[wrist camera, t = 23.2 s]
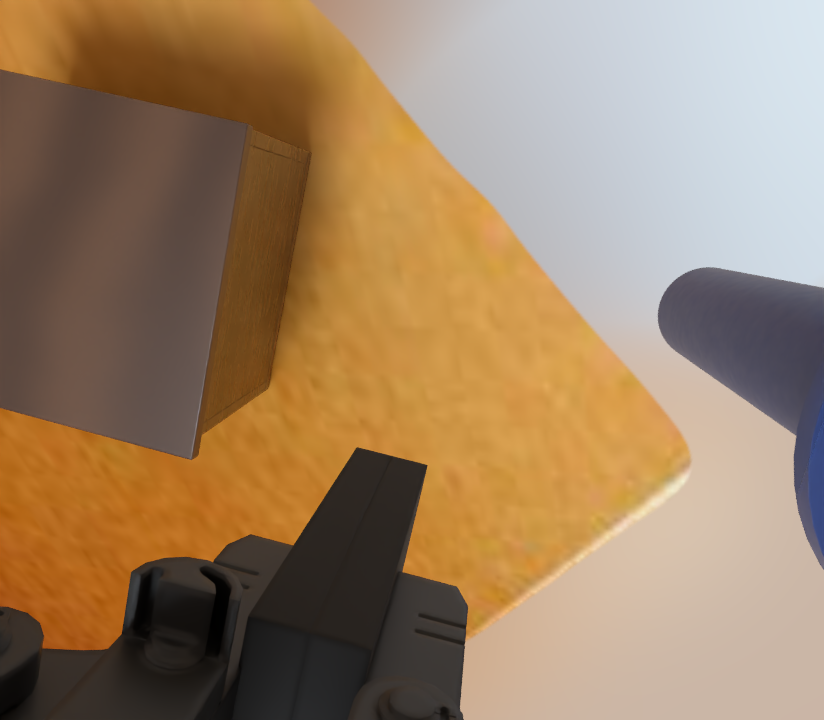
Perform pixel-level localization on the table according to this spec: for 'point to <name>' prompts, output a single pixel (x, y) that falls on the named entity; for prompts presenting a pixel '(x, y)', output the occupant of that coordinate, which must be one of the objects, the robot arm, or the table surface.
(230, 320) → the chest
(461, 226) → the table surface
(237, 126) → the lid
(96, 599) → the table surface
